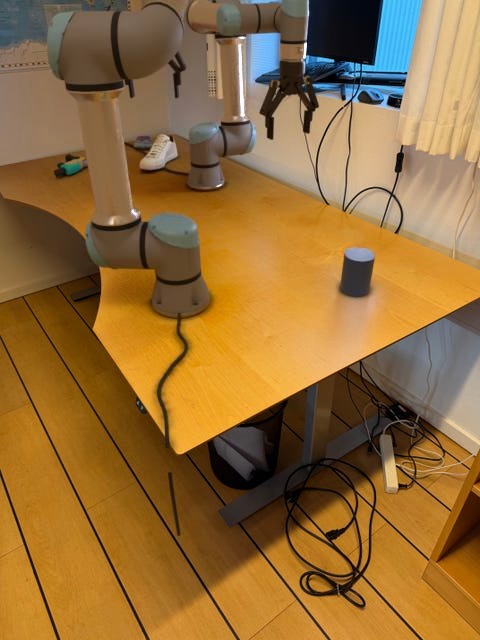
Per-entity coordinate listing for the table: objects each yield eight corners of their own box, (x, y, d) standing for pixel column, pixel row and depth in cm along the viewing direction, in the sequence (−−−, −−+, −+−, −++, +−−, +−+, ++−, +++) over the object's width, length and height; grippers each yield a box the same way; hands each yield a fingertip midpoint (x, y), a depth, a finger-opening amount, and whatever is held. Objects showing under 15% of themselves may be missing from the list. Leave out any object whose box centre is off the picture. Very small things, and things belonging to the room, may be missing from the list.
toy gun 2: (175, 143, 244) (165, 152, 232) (140, 141, 247) (129, 150, 235) (174, 135, 242) (164, 144, 230) (139, 134, 245) (128, 142, 233)
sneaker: (133, 173, 208) (129, 144, 201) (161, 153, 230) (158, 127, 223) (155, 175, 205) (151, 146, 198) (180, 155, 227) (178, 129, 220)
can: (374, 294, 128) (380, 259, 121) (347, 299, 126) (352, 263, 120) (360, 280, 134) (366, 245, 127) (335, 284, 132) (339, 249, 126)
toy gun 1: (34, 165, 203) (60, 171, 198) (76, 150, 222) (101, 154, 216) (36, 176, 206) (62, 181, 200) (78, 159, 225) (103, 164, 219)
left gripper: (192, 11, 132) (197, 94, 145) (105, 12, 134) (117, 94, 146) (188, 13, 126) (194, 100, 138) (96, 14, 128) (110, 99, 140)
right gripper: (261, 65, 130) (260, 144, 143) (334, 58, 140) (327, 132, 152) (248, 61, 136) (248, 138, 148) (319, 54, 145) (313, 127, 158)
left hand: (154, 97), depth 142 cm, fingers open, 13 cm apart
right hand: (288, 135), depth 150 cm, fingers open, 13 cm apart
